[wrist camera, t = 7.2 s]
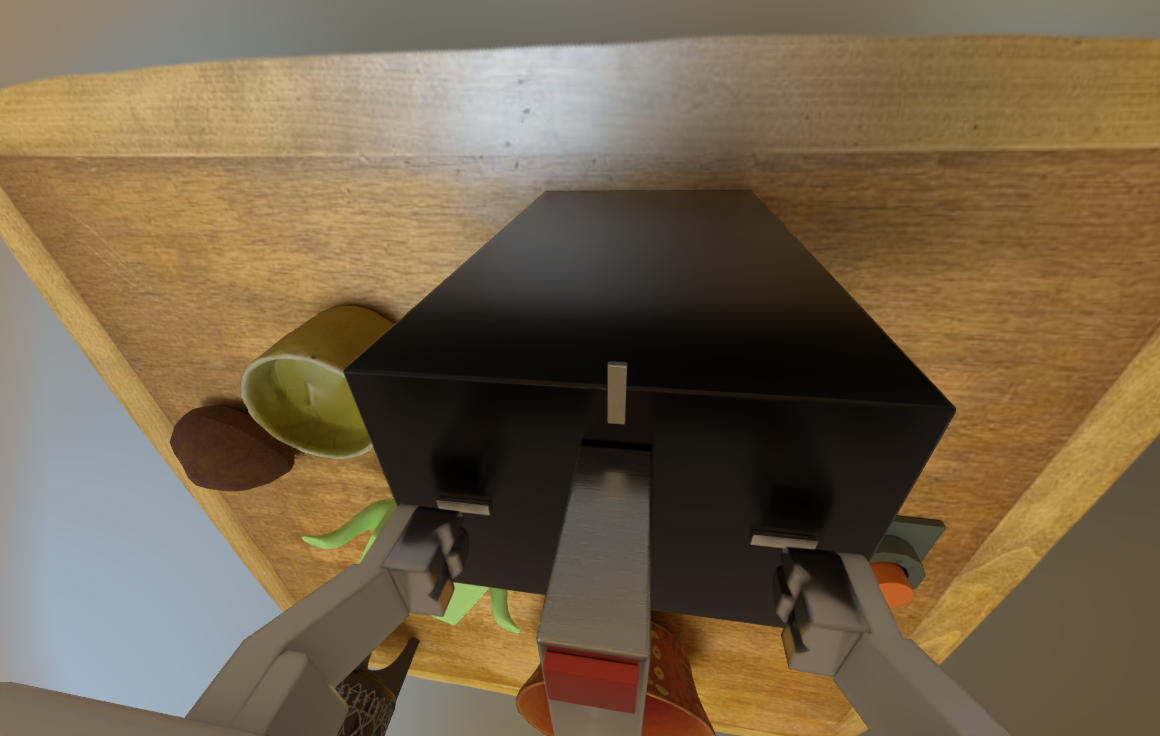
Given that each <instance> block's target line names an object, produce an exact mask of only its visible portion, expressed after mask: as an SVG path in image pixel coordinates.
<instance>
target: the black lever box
mask: <svg viewBox="0 0 1160 736" xmlns="http://www.w3.org/2000/svg"><path fill="white" fill-rule="evenodd" d="M343 374H344V376H345V379H346V381H347V384H348V386H349V388H350V391H351V393H352V396H353V398H354V401H355V403H356V406H357V408H358V411H359V413H360V416H361V418H362V421H363V423H364V426H365V428H366V431H367V433H368V435H369V438H370V440H371V443H372V445H373V448H374V450H375V453H376V455H377V458H378V460H379V463H380V465H381V468H382V470H383V473H384V475H385V478H386V480H387V483H388V485H389V487H390V490H391V492H392V495H393V497H394V500H395V502H396V505H397V507H398V506H399V505H400V504H408V505H417V506H424V507H432V508H440V509H448V510H456V511H461V512H462V515H463V518H464V522H463V524H462V527H463V528H464V529H465V530H466V531H467V532H468V535H469V551H468V556H467V560H466V563H465V566H464V568H463V571H462V572H461V573H459V574H458V575H457V576H456V577H455V578H453V582H454V583H461V584H468V585H476V586H483V587H490V588H497V589H505V590H512V591H519V592H526V593H534V594H541V595H546V592H547V587H548V583H549V578H550V574H551V569H552V565H553V560H554V556H555V552H556V547H557V543H558V538H559V534H560V529H561V525H562V520H563V516H564V511H565V507H566V502H567V498H568V493H569V489H570V484H571V480H572V476H573V471H574V467H575V462H576V458H577V453H578V449H579V447H580V446H582V445H586V446H599V447H611V448H623V449H635V450H648V451H651V452H652V454H653V519H652V591H651V610H657V611H664V612H671V613H678V614H686V615H693V616H700V617H707V618H715V619H722V620H729V621H736V622H743V623H751V624H758V625H765V626H772V627H780V628H784V626H785V623H784V621H783V620H782V619H781V618H780V617H779V616H778V614H777V613H776V610H775V605H774V601H773V592H772V583H773V575H774V572H775V569H776V568H777V567H778V566H780V565H782V561H781V557H780V555H781V553H782V550H783V549H784V548H785V547H797V548H807V549H818V550H829V551H834V552H840V553H852V554H860V555H863V556H864V557H865V558H866V559H867V560H868V562H870V561H871V559H872V557H873V556H874V554H875V552H876V550H877V549H878V547H879V545H880V543H881V542H882V540H883V538H884V536H885V535H886V533H887V531H888V529H889V528H890V526H891V524H892V522H893V521H894V519H895V517H896V515H897V514H898V512H899V510H900V509H901V507H902V505H903V503H904V502H905V500H906V498H907V496H908V495H909V493H910V491H911V489H912V488H913V486H914V484H915V482H916V481H917V479H918V477H919V475H920V474H921V472H922V470H923V468H924V467H925V465H926V463H927V462H928V460H929V458H930V456H931V455H932V453H933V451H934V449H935V448H936V446H937V444H938V442H939V441H940V439H941V437H942V435H943V434H944V432H945V430H946V428H947V427H948V425H949V423H950V421H951V420H952V418H953V416H954V414H955V413H956V408H955V406H954V405H953V404H952V403H951V402H950V401H949V400H948V399H947V398H946V397H945V395H944V394H943V393H942V392H941V391H940V390H939V389H938V388H937V387H936V386H935V385H934V384H933V383H932V382H931V381H930V379H929V378H928V377H927V376H926V375H925V374H924V373H923V372H922V371H921V370H920V369H919V368H918V367H917V366H916V365H915V364H914V362H913V361H912V360H911V359H910V358H909V357H908V356H907V355H906V354H905V353H904V352H903V351H902V350H901V349H900V348H899V347H898V345H897V344H896V343H895V342H894V341H893V340H892V339H891V338H890V337H889V336H888V335H887V334H886V333H885V332H884V331H883V329H882V328H881V327H880V326H879V325H878V324H877V323H876V322H875V321H874V320H873V319H872V318H871V317H870V316H869V315H868V314H867V312H866V311H865V310H864V309H863V308H862V307H861V306H860V305H859V304H858V303H857V302H856V301H855V300H854V299H853V298H852V297H851V295H850V294H849V293H848V292H847V291H846V290H845V289H844V288H843V287H842V286H841V285H840V284H839V283H838V282H837V281H836V280H835V278H834V277H833V276H832V275H831V274H830V273H829V272H828V271H827V270H826V269H825V268H824V267H823V266H822V265H821V264H820V262H819V261H818V260H817V259H816V258H815V257H814V256H813V255H812V254H811V253H810V252H809V251H808V250H807V249H806V248H805V247H804V245H803V244H802V243H801V242H800V241H799V240H798V239H797V238H796V237H795V236H794V235H793V234H792V233H791V232H790V231H789V230H788V228H787V227H786V226H785V225H784V224H783V223H782V222H781V221H780V220H779V219H778V218H777V217H776V216H775V215H774V214H773V212H772V211H771V210H770V209H769V208H768V207H767V206H766V205H765V204H764V203H763V202H762V201H761V200H760V199H759V198H758V197H757V195H756V194H755V193H754V192H753V191H752V190H610V191H545V192H544V193H543V194H542V195H540V196H539V197H538V198H537V199H536V200H535V201H534V202H532V203H531V204H530V205H529V206H528V207H527V208H526V209H525V210H523V211H522V212H521V213H520V214H519V215H518V216H517V217H515V218H514V219H513V220H512V221H511V222H510V223H509V224H508V225H506V226H505V227H504V228H503V229H502V230H501V231H500V232H498V233H497V234H496V235H495V236H494V237H493V238H492V239H491V240H489V241H488V242H487V243H486V244H485V245H484V246H483V247H482V248H480V249H479V250H478V251H477V252H476V253H475V254H474V255H472V256H471V257H470V258H469V259H468V260H467V261H466V262H465V263H463V264H462V265H461V266H460V267H459V268H458V269H457V270H455V271H454V272H453V273H452V274H451V275H450V276H449V277H448V278H446V279H445V280H444V281H443V282H442V283H441V284H440V285H438V286H437V287H436V288H435V289H434V290H433V291H432V292H431V293H429V294H428V295H427V296H426V297H425V298H424V299H423V300H421V301H420V302H419V303H418V304H417V305H416V306H415V307H414V308H412V309H411V310H410V311H409V312H408V313H407V314H406V315H405V316H403V317H402V318H401V319H400V320H399V321H398V322H397V323H395V324H394V325H393V326H392V327H391V328H390V329H389V330H388V331H386V332H385V333H384V334H383V335H382V336H381V337H380V338H378V339H377V340H376V341H375V342H374V343H373V344H372V345H371V346H369V347H368V348H367V349H366V350H365V351H364V352H363V353H361V354H360V355H359V356H358V357H357V358H356V359H355V360H354V361H352V362H351V363H350V364H349V365H348V366H347V367H346V368H345V369H344V370H343Z"/></svg>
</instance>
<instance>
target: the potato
mask: <svg viewBox="0 0 1160 736" xmlns="http://www.w3.org/2000/svg"><path fill="white" fill-rule="evenodd" d="M170 444H171V447H172V449H173V452H174V454H175V455H176V457H177V458H178V460H179V461H180V463H181V464H182V466H183V468H184V470H185V472H186V474H187V476H188V478H189V479H190V480H191V481H192V482H193V483H194V484H195V485H197V486H200V487H204V488H208V489H213V490H221V491H243V490H248V489H252V488H255V487H258V486H262V485H265V484H269V483H271V482H273V481H274V480H276V479H278V478H279V477H281V476H283V475H284V474H286V473H288V472H289V471H290V470H291V469H292V467H293V465H294V453H293V450H292V448H291V447H290V445H288V444H285V443H283V442H281V441H280V440H278V439H276V438H275V437H273V436H272V435H271V434H270V433H269V432H268V431H266V430H265V429H264V428H263V427H262V426H261V425H260V424H258V423H257V422H256V421H255V420H254V419H253V417H252V416H250V415H248V414H246V413H243V412H240V411H237V410H235V409H232V408H227V407H223V406H206V407H200V408H197V409H193V410H191V411H190V412H188V413H187V414H185V415H184V416H183V417H182V418H181V419H180V420H179V421H178V422H177V423H176V425H175V427H174V430H173V433H172V437H171V440H170Z"/></svg>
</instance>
